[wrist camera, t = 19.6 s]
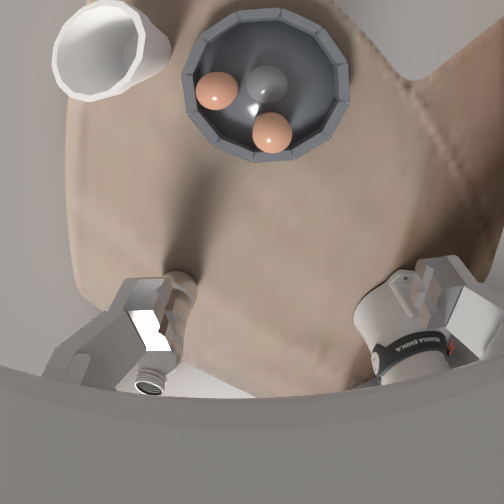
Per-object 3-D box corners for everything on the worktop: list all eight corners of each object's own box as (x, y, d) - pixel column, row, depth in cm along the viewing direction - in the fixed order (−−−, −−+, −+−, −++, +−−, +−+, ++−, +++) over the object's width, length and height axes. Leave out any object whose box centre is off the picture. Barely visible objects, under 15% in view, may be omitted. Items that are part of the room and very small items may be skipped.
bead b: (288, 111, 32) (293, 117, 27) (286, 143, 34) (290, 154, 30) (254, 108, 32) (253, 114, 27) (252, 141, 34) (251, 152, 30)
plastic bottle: (165, 296, 49) (134, 399, 33) (157, 264, 46) (114, 370, 29) (202, 297, 49) (181, 404, 33) (196, 264, 45) (167, 376, 29)
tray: (336, 13, 25) (342, 9, 22) (343, 151, 35) (350, 158, 32) (181, 24, 26) (174, 21, 24) (200, 161, 36) (196, 168, 34)
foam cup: (118, 20, 25) (59, 8, 14) (189, 18, 26) (153, -7, 15) (110, 89, 30) (50, 104, 20) (178, 90, 31) (137, 102, 20)
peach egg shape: (202, 74, 29) (193, 74, 25) (237, 70, 29) (234, 69, 25) (206, 106, 31) (198, 112, 27) (240, 102, 31) (237, 107, 27)
